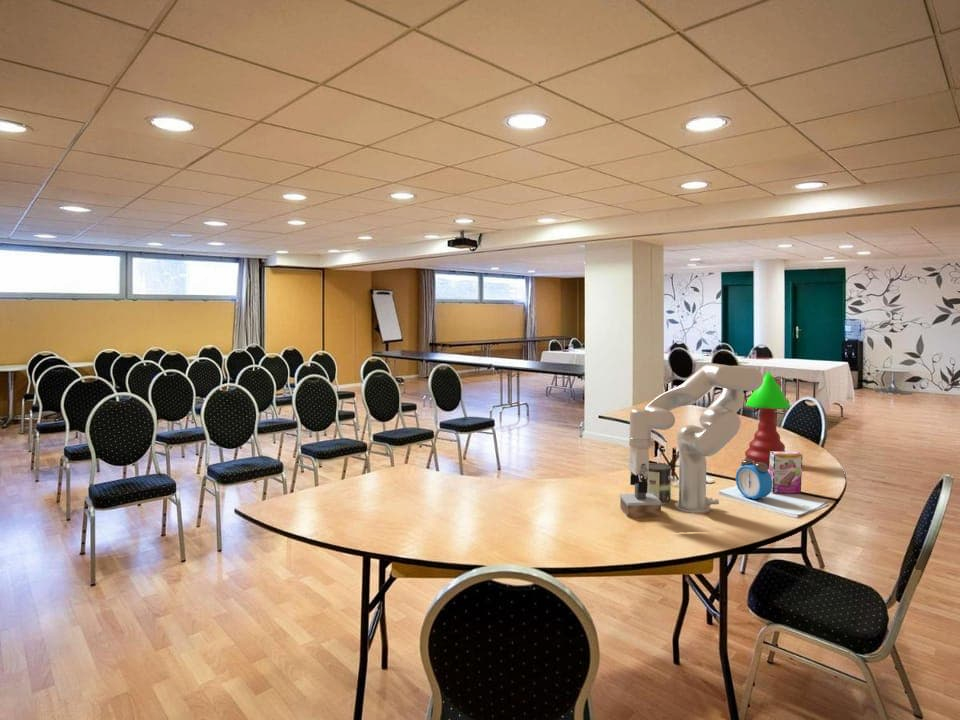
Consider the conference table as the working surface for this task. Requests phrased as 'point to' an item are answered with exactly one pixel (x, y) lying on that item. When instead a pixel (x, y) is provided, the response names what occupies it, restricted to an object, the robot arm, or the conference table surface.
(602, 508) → the conference table surface
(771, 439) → the table lamp
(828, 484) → the conference table surface
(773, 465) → the candy bar box
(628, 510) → the box
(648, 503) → the lid
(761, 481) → the alarm clock
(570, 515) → the conference table surface
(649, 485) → the coffee can
